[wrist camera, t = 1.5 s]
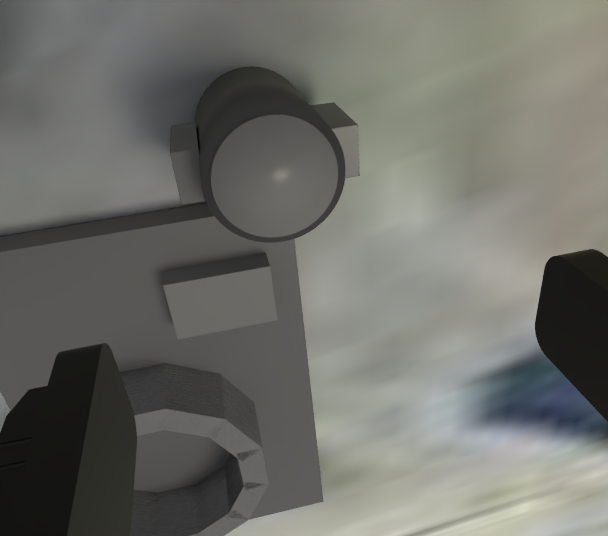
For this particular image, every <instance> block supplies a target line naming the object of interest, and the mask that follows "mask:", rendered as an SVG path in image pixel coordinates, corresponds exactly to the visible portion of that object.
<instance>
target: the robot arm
mask: <svg viewBox="0 0 608 536" xmlns="http://www.w3.org/2000/svg"><path fill="white" fill-rule="evenodd" d="M535 332H536V337H537V340H538V343H539V346H540V348H541V349H542V351H543V353H544V354H545V355H546V356H547V357H548V359H549V360H550V361H551V362H552V363H553V364H554V365H555V366H556V367H557V368H558V369H559V370H560V371H561V372H562V373H563V374H564V376H565V377H566V378H567V379H568V380H569V381H570V382H571V383H572V384H573V385H574V386H575V387H576V388H577V389H578V391H579V392H580V393H581V394H582V395H583V396H584V397H585V398H586V399H587V400H588V401H589V402H590V403H591V404H592V405H593V406H594V408H595V409H596V410H597V411H598V412H599V413H600V414H601V415H602V416H603V417H604V418H605V419H606V420H607V421H608V257H607V256H605V255H604V254H603V253H601V252H599V251H597V250H594V249H589V250H584V251H579V252H574V253H569V254H564V255H558V256H553V257H551V258H550V259H549V260H548V262H547V263H546V266H545V269H544V275H543V281H542V287H541V292H540V298H539V304H538V309H537V315H536V321H535ZM136 452H137V430H136V422H135V417H134V412H133V409H132V406H131V403H130V400H129V397H128V394H127V392H126V389H125V386H124V383H123V380H122V378H121V375H120V372H119V369H118V366H117V364H116V361H115V358H114V355H113V353H112V350H111V348H110V346H109V345H108V344H107V343H102V344H97V345H92V346H87V347H81V348H76V349H71V350H66V351H61V352H59V353H58V354H57V356H56V358H55V361H54V365H53V368H52V372H51V375H50V378H49V382H48V385H47V386H43V387H38V388H33V389H29V390H28V391H27V392H26V393H25V395H24V396H23V397H22V398H21V399H20V401H19V402H18V403H17V404H16V405H15V407H14V408H13V409H12V410H11V411H10V412H9V414H8V415H7V416H6V419H5V421H4V424H3V427H2V430H1V432H0V536H130V532H131V519H132V506H133V492H134V479H135V465H136Z"/></svg>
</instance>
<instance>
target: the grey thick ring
mask: <svg viewBox="0 0 608 536" xmlns="http://www.w3.org/2000/svg"><path fill="white" fill-rule="evenodd" d="M120 375H121V378H122V380H123V383H124V386H125V389H126V392H127V394H128V397H129V400H130V403H131V406H132V409H133V412H134V417H135V422H136V430H137V436H139V435H144V434H148V433H153V432H158V431H162V430H166V431H173V432H179V433H185V434H192V435H198V436H204V437H209V438H211V439H212V440H213V441H215V442H216V443H217V444H219V445H220V446H222V447H223V448H224V449H226V450H227V451H228V452H230V455H229V457H228V459H227V461H226V463H225V465H223V466H222V467H221V468H219V469H218V470H216V471H215V472H213V473H212V474H210V475H209V476H207V477H206V478H204V479H203V480H201V481H200V482H198V483H197V484H194V485H190V486H185V487H181V488H177V489H172V490H168V491H164V492H159V493H158V492H150V491H141V490H134V492H133V506H132V519H131V532H130V536H224V535H226V534H227V533H229V532H230V531H232V530H233V529H235V528H237V527H238V526H240V525H241V524H243V523H244V522H246V521H247V520H249V518H250V517H251V515H252V513H253V511H254V510H255V508H256V506H257V505H258V503H259V501H260V499H261V498H262V496H263V494H264V492H265V491H266V489H267V487H268V485H269V481H268V475H267V470H266V464H265V458H264V452H263V446H262V441H261V436H260V430H259V425H258V420H257V415H256V409H255V404H254V402H253V401H252V400H251V399H250V398H248V397H247V396H246V395H245V394H244V393H242V392H241V391H240V390H239V389H238V388H237V387H235V386H234V385H233V384H232V383H231V382H229V381H228V380H227V379H226V378H225V377H224V376H222V375H221V374H218V373H213V372H208V371H203V370H199V369H194V368H189V367H184V366H179V365H175V364H170V363H163V364H158V365H153V366H148V367H143V368H138V369H133V370H128V371H123V372H120Z"/></svg>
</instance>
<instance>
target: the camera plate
mask: <svg viewBox="0 0 608 536" xmlns="http://www.w3.org/2000/svg"><path fill="white" fill-rule="evenodd" d="M102 343H107V344H108V345H109V346H110V348H111V350H112V353H113V355H114V358H115V361H116V364H117V366H118V369H119V372H123V371H128V370H133V369H138V368H143V367H148V366H153V365H158V364H163V363H170V364H175V365H179V366H184V367H189V368H194V369H199V370H203V371H208V372H213V373H218V374H221V375H222V376H224V377H225V378H226V379H227V380H228V381H229V382H231V383H232V384H233V385H234V386H235V387H237V388H238V389H239V390H240V391H241V392H242V393H244V394H245V395H246V396H247V397H248V398H250V399H251V400H252V401H253V402H254V404H255V409H256V415H257V420H258V425H259V430H260V436H261V441H262V446H263V452H264V458H265V464H266V470H267V475H268V481H269V485H268V487H267V489H266V491H265V492H264V494H263V496H262V498H261V499H260V501H259V503H258V505H257V506H256V508H255V510H254V511H253V513H252V515H251V517H250V518H249V519H253V518H257V517H261V516H265V515H270V514H274V513H278V512H282V511H286V510H290V509H294V508H298V507H303V506H307V505H311V504H315V503H319V502H323V494H322V485H321V476H320V467H319V458H318V449H317V440H316V431H315V422H314V413H313V404H312V395H311V386H310V377H309V368H308V359H307V350H306V341H305V332H304V323H303V314H302V305H301V296H300V287H299V278H298V269H297V260H296V251H295V242H294V239H292V240H288V241H283V242H276V243H264V242H256V241H252V240H248V239H245V238H243V237H240V236H238V235H236V234H234V233H232V232H231V231H230V230H228V229H227V228H225V227H224V226H223V225H222V224H221V223H220V222H219V221H218V220H217V219H216V218H215V216H214V215H213V214H212V212H211V211H210V209H209V207H208V205H207V203H203V204H197V205H191V206H185V207H179V208H173V209H167V210H161V211H154V212H148V213H142V214H136V215H130V216H124V217H118V218H112V219H106V220H99V221H93V222H87V223H81V224H75V225H69V226H63V227H57V228H50V229H44V230H38V231H32V232H26V233H20V234H14V235H8V236H1V237H0V391H1V393H2V395H3V397H4V399H5V401H6V402H7V404H8V406H9V408H10V410H12V409H13V408H14V407H15V405H16V404H17V403H18V402H19V401H20V399H21V398H22V397H23V396H24V395H25V393H26V392H27V391H28V390H29V389H33V388H38V387H43V386H47V385H48V382H49V378H50V375H51V372H52V368H53V365H54V361H55V358H56V356H57V354H58V353H59V352H61V351H66V350H71V349H76V348H81V347H87V346H92V345H97V344H102ZM229 455H230V452H228V451H227V450H226V449H224V448H223V447H222V446H220V445H219V444H217V443H216V442H215V441H213V440H212V439H211V438H209V437H204V436H198V435H192V434H185V433H179V432H173V431H166V430H162V431H158V432H153V433H148V434H144V435H139V436H137V452H136V465H135V479H134V490H141V491H150V492H158V493H159V492H164V491H168V490H172V489H177V488H181V487H185V486H190V485H194V484H197V483H198V482H200V481H201V480H203V479H204V478H206V477H207V476H209V475H210V474H212V473H213V472H215V471H216V470H218V469H219V468H221V467H222V466H223V465H225V463H226V461H227V459H228V457H229Z"/></svg>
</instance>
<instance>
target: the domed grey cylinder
mask: <svg viewBox="0 0 608 536" xmlns="http://www.w3.org/2000/svg"><path fill="white" fill-rule="evenodd" d="M170 156H171V160H172V165H173V169H174V173H175V178H176V182H177V187H178V191H179V195H180V200H181V204H182V205H183V204H190V203H196V202H202V201H206V203H207V205H208V207H209V209H210V211H211V212H212V214H213V215H214V216H215V218H216V219H217V220H218V221H219V222H220V223H221V224H222V225H223V226H224V227H225V228H227V229H228V230H230V231H231V232H232V233H234V234H236V235H238V236H240V237H243V238H245V239H248V240H252V241H256V242H264V243H276V242H283V241H288V240H292V239H295V238H297V237H300V236H302V235H304V234H306V233H308V232H310V231H311V230H313V229H314V228H316V227H317V226H318V225H319V224H320V223H322V222H323V221H324V220H325V219H326V218H327V217H328V215H329V214H330V213H331V211H332V210H333V209H334V207H335V205H336V204H337V202H338V200H339V198H340V195H341V193H342V190H343V186H344V181H345V178H349V177H355V176H360V172H359V144H358V125H357V124H356V123H355V122H354V121H353V120H352V119H351V118H350V117H349V116H348V115H347V114H346V113H345V112H344V111H342V110H341V109H340V108H339V107H338V106H337V105H336V104H335V103H334V102H333V103H327V104H320V105H313V106H311V105H310V104H309V103H308V102H307V101H306V100H305V99H304V97H303V96H302V95H301V94H300V93H299V92H298V91H297V90H296V88H295V87H294V86H293V85H292V84H291V83H290V82H289V81H288V80H287V79H285V78H284V77H282V76H281V75H279V74H277V73H275V72H273V71H271V70H268V69H264V68H259V67H244V68H239V69H235V70H232V71H229V72H227V73H225V74H223V75H222V76H220V77H219V78H217V79H216V80H215V81H214V82H213V83H212V84H211V85H210V86H209V87H208V88H207V89H206V91H205V92H204V94H203V96H202V97H201V99H200V102H199V104H198V107H197V111H196V117H195V122H194V123H187V124H180V125H174V126H171V137H170Z"/></svg>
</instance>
